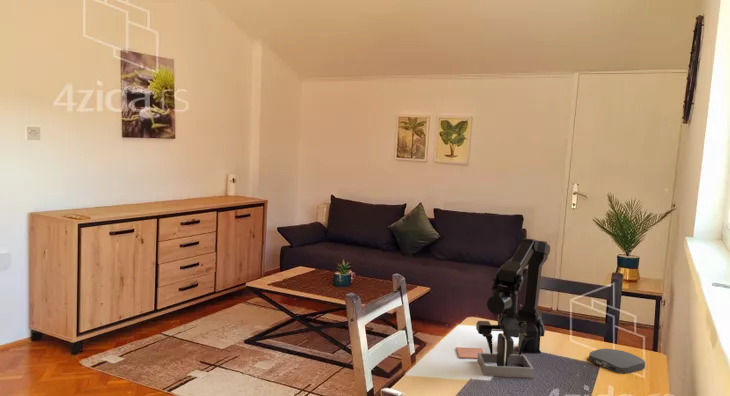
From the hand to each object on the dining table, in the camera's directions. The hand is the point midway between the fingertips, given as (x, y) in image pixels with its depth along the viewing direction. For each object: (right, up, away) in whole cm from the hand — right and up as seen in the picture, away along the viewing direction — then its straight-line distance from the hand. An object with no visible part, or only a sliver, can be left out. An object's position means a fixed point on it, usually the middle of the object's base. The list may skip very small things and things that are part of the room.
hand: (505, 354), depth 174 cm
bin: (0, -5, 0) cm, 5 cm away
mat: (-9, -4, +13) cm, 16 cm away
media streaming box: (+40, -6, +9) cm, 42 cm away
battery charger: (0, -5, 0) cm, 5 cm away
